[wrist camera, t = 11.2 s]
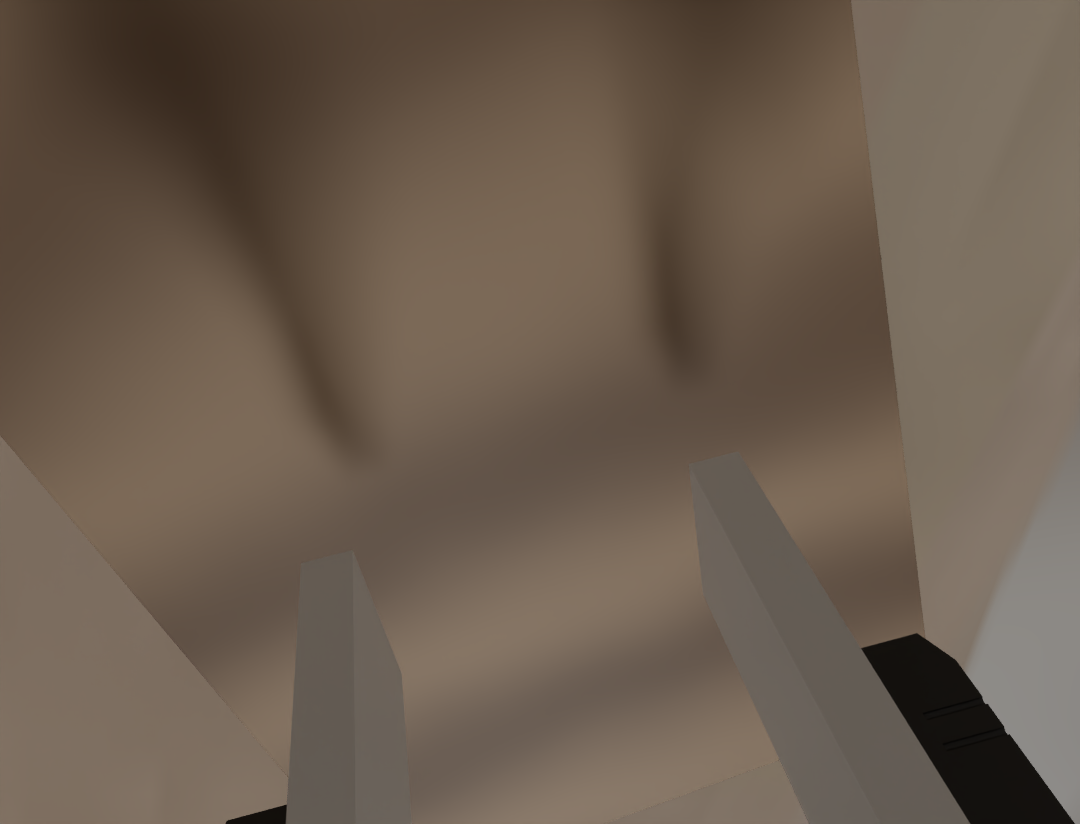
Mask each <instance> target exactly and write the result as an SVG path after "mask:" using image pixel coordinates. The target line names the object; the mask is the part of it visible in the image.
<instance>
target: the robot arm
mask: <svg viewBox="0 0 1080 824" xmlns="http://www.w3.org/2000/svg"><path fill="white" fill-rule="evenodd" d="M689 471H690V480H691V489H692V498H693V507H694V516H695V525H696V535H697V544H698V553H699V562H700V571H701V580H702V590H703V595H704V597H705V600H706V602H707V604H708V606H709V608H710V610H711V612H712V615H713V617H714V619H715V621H716V623H717V625H718V628H719V630H720V632H721V634H722V636H723V638H724V641H725V643H726V645H727V647H728V649H729V651H730V654H731V656H732V658H733V660H734V662H735V664H736V667H737V669H738V671H739V673H740V675H741V677H742V679H743V682H744V684H745V686H746V688H747V690H748V692H749V695H750V697H751V699H752V701H753V703H754V705H755V708H756V710H757V712H758V714H759V716H760V718H761V721H762V723H763V725H764V727H765V729H766V731H767V734H768V736H769V738H770V740H771V742H772V744H773V747H774V749H775V751H776V753H777V755H778V757H779V759H780V762H781V764H782V766H783V768H784V770H785V772H786V775H787V777H788V779H789V781H790V783H791V785H792V788H793V790H794V792H795V794H796V796H797V798H798V801H799V803H800V805H801V807H802V809H803V811H804V814H805V816H806V818H807V820H808V822H809V824H1075V823H1074V822H1073V821H1072V819H1071V818H1070V817H1069V815H1068V814H1067V812H1066V811H1065V810H1064V809H1063V807H1062V806H1061V804H1060V803H1059V801H1058V800H1057V799H1056V797H1055V796H1054V795H1053V793H1052V792H1051V790H1050V789H1049V788H1048V786H1047V785H1046V784H1045V782H1044V781H1043V779H1042V778H1041V777H1040V775H1039V774H1038V773H1037V771H1036V770H1035V768H1034V767H1033V766H1032V764H1031V763H1030V762H1029V760H1028V759H1027V757H1026V756H1025V755H1024V753H1023V752H1022V751H1021V749H1020V748H1019V747H1018V745H1017V744H1016V742H1015V741H1014V740H1013V738H1012V737H1011V736H1010V734H1009V735H1007V733H1006V732H1005V729H1004V726H1003V724H1002V723H1001V722H1000V720H999V719H998V718H997V716H996V715H995V713H994V712H993V711H992V709H991V708H990V707H989V705H988V704H985V703H984V701H983V699H982V696H981V694H980V693H979V691H978V690H977V689H976V687H975V686H974V685H973V683H972V682H971V680H970V679H969V678H968V676H967V675H966V674H965V672H964V671H963V669H962V668H961V667H960V665H959V664H958V663H957V661H956V660H955V659H953V658H952V657H950V656H949V655H948V654H946V653H945V652H943V651H942V650H941V649H939V648H938V647H936V646H935V645H933V644H932V643H931V642H929V641H928V640H926V639H925V638H923V637H922V636H921V635H919V634H918V633H915V634H912V635H908V636H904V637H901V638H897V639H893V640H889V641H886V642H882V643H878V644H875V645H871V646H867V647H863V648H860V646H859V645H858V643H857V641H856V640H855V638H854V637H853V635H852V633H851V632H850V630H849V628H848V627H847V625H846V624H845V622H844V620H843V619H842V617H841V616H840V614H839V612H838V611H837V609H836V608H835V606H834V604H833V603H832V601H831V600H830V598H829V596H828V595H827V593H826V592H825V590H824V588H823V587H822V585H821V584H820V582H819V580H818V579H817V577H816V576H815V574H814V572H813V571H812V569H811V568H810V566H809V564H808V563H807V561H806V559H805V558H804V556H803V555H802V553H801V551H800V550H799V548H798V547H797V545H796V543H795V542H794V540H793V539H792V537H791V535H790V534H789V532H788V531H787V529H786V527H785V526H784V524H783V523H782V521H781V519H780V518H779V516H778V515H777V513H776V511H775V510H774V508H773V507H772V505H771V503H770V502H769V500H768V498H767V497H766V495H765V494H764V492H763V490H762V489H761V487H760V486H759V484H758V482H757V481H756V479H755V478H754V476H753V474H752V473H751V471H750V470H749V468H748V466H747V465H746V463H745V462H744V460H743V458H742V457H741V455H740V454H739V452H734V453H730V454H726V455H722V456H718V457H714V458H711V459H707V460H703V461H699V462H695V463H691V464H689ZM226 824H412V821H411V806H410V791H409V775H408V760H407V745H406V730H405V715H404V700H403V685H402V673H401V670H400V668H399V665H398V663H397V660H396V658H395V655H394V653H393V650H392V648H391V645H390V643H389V640H388V638H387V635H386V633H385V630H384V628H383V625H382V623H381V620H380V617H379V615H378V612H377V610H376V607H375V605H374V602H373V600H372V597H371V595H370V592H369V590H368V587H367V585H366V582H365V580H364V577H363V575H362V572H361V570H360V567H359V565H358V562H357V560H356V557H355V555H354V552H353V550H351V551H347V552H343V553H339V554H335V555H332V556H328V557H324V558H320V559H316V560H312V561H308V562H304V563H301V575H300V592H299V609H298V626H297V643H296V660H295V676H294V693H293V710H292V727H291V744H290V761H289V778H288V795H287V805H284V806H280V807H276V808H273V809H269V810H265V811H261V812H258V813H254V814H250V815H246V816H243V817H239V818H235V819H232V820H228V821H227V822H226Z"/></svg>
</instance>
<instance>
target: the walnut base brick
mask: <svg viewBox="0 0 1080 824" xmlns="http://www.w3.org/2000/svg"><path fill="white" fill-rule="evenodd" d="M0 435H1V437H2V438H3V439H4V440H5V441H6V443H7V444H8V445H9V446H10V447H11V449H12V450H13V451H14V452H15V453H16V455H17V456H18V457H19V458H20V459H21V460H22V462H23V463H24V464H25V465H26V466H27V468H28V469H29V470H30V471H31V472H32V474H33V475H34V476H35V477H36V478H37V479H38V481H39V482H40V483H41V484H42V485H43V487H44V488H45V489H46V490H47V491H48V493H49V494H50V495H51V496H52V497H53V499H54V500H55V501H56V502H57V503H58V504H59V506H60V507H61V508H62V509H63V510H64V512H65V513H66V514H67V515H68V516H69V518H70V519H71V520H72V521H73V522H74V524H75V525H76V526H77V527H78V528H79V529H80V531H81V532H82V533H83V534H84V535H85V537H86V538H87V539H88V540H89V541H90V543H91V544H92V545H93V546H94V547H95V548H96V550H97V551H98V552H99V553H100V554H101V556H102V557H103V558H104V559H105V560H106V562H107V563H108V564H109V565H110V566H111V568H112V569H113V570H114V571H115V572H116V573H117V575H118V576H119V577H120V578H121V579H122V581H123V582H124V583H125V584H126V585H127V587H128V588H129V589H130V590H131V591H132V593H133V594H134V595H135V596H136V597H137V598H138V600H139V601H140V602H141V603H142V604H143V606H144V607H145V608H146V609H147V610H148V612H149V613H150V614H151V615H152V616H153V617H154V619H155V620H156V621H157V622H158V623H159V625H160V626H161V627H162V628H163V629H164V631H165V632H166V633H167V634H168V635H169V637H170V638H171V639H172V640H173V641H174V642H175V644H176V645H177V646H178V647H179V648H180V650H181V651H182V652H183V653H184V654H185V656H186V657H187V658H188V659H189V660H190V662H191V663H192V664H193V665H194V666H195V667H196V669H197V670H198V671H199V672H200V673H201V675H202V676H203V677H204V678H205V679H206V681H207V682H208V683H209V684H210V685H211V686H212V688H213V689H214V690H215V691H216V692H217V694H218V695H219V696H220V697H221V698H222V700H223V701H224V702H225V703H226V704H227V706H228V707H229V708H230V709H231V710H232V711H233V713H234V714H235V715H236V716H237V717H238V719H239V720H240V721H241V722H242V723H243V725H244V726H245V727H246V728H247V729H248V731H249V732H250V733H251V734H252V735H253V736H254V738H255V739H256V740H257V741H258V742H259V744H260V745H261V746H262V747H263V748H264V750H265V751H266V752H267V753H268V754H269V755H270V757H271V758H272V759H273V760H274V761H275V763H276V764H277V765H278V766H279V767H280V769H281V770H282V771H283V772H284V773H285V775H286V776H287V777H288V778H289V761H290V744H291V727H292V710H293V693H294V676H295V660H296V643H297V626H298V609H299V592H300V575H301V563H304V562H308V561H312V560H316V559H320V558H324V557H328V556H332V555H335V554H339V553H343V552H347V551H351V550H353V552H354V555H355V557H356V560H357V562H358V565H359V567H360V570H361V572H362V575H363V577H364V580H365V582H366V585H367V587H368V590H369V592H370V595H371V597H372V600H373V602H374V605H375V607H376V610H377V612H378V615H379V617H380V620H381V623H382V625H383V628H384V630H385V633H386V635H387V638H388V640H389V643H390V645H391V648H392V650H393V653H394V655H395V658H396V660H397V663H398V665H399V668H400V670H401V673H402V685H403V700H404V715H405V730H406V745H407V760H408V775H409V791H410V806H411V821H412V824H606V823H608V822H611V821H614V820H617V819H619V818H622V817H625V816H628V815H630V814H633V813H636V812H639V811H641V810H644V809H647V808H650V807H652V806H655V805H658V804H661V803H663V802H666V801H669V800H672V799H674V798H677V797H680V796H683V795H685V794H688V793H691V792H694V791H696V790H699V789H702V788H705V787H707V786H710V785H713V784H715V783H718V782H721V781H724V780H726V779H729V778H732V777H735V776H737V775H740V774H743V773H746V772H748V771H751V770H754V769H757V768H759V767H762V766H765V765H768V764H770V763H773V762H776V761H779V760H780V759H779V757H778V755H777V753H776V751H775V749H774V747H773V744H772V742H771V740H770V738H769V736H768V734H767V731H766V729H765V727H764V725H763V723H762V721H761V718H760V716H759V714H758V712H757V710H756V708H755V705H754V703H753V701H752V699H751V697H750V695H749V692H748V690H747V688H746V686H745V684H744V682H743V679H742V677H741V675H740V673H739V671H738V669H737V667H736V664H735V662H734V660H733V658H732V656H731V654H730V651H729V649H728V647H727V645H726V643H725V641H724V638H723V636H722V634H721V632H720V630H719V628H718V625H717V623H716V621H715V619H714V617H713V615H712V612H711V610H710V608H709V606H708V604H707V602H706V600H705V597H704V595H703V590H702V580H701V571H700V562H699V553H698V544H697V535H696V525H695V516H694V507H693V498H692V489H691V480H690V471H689V464H691V463H695V462H699V461H703V460H707V459H711V458H714V457H718V456H722V455H726V454H730V453H734V452H739V454H740V455H741V457H742V458H743V460H744V462H745V463H746V465H747V466H748V468H749V470H750V471H751V473H752V474H753V476H754V478H755V479H756V481H757V482H758V484H759V486H760V487H761V489H762V490H763V492H764V494H765V495H766V497H767V498H768V500H769V502H770V503H771V505H772V507H773V508H774V510H775V511H776V513H777V515H778V516H779V518H780V519H781V521H782V523H783V524H784V526H785V527H786V529H787V531H788V532H789V534H790V535H791V537H792V539H793V540H794V542H795V543H796V545H797V547H798V548H799V550H800V551H801V553H802V555H803V556H804V558H805V559H806V561H807V563H808V564H809V566H810V568H811V569H812V571H813V572H814V574H815V576H816V577H817V579H818V580H819V582H820V584H821V585H822V587H823V588H824V590H825V592H826V593H827V595H828V596H829V598H830V600H831V601H832V603H833V604H834V606H835V608H836V609H837V611H838V612H839V614H840V616H841V617H842V619H843V620H844V622H845V624H846V625H847V627H848V628H849V630H850V632H851V633H852V635H853V637H854V638H855V640H856V641H857V643H858V645H859V646H860V648H863V647H867V646H871V645H875V644H878V643H882V642H886V641H889V640H893V639H897V638H901V637H904V636H908V635H912V634H915V633H918V634H919V635H921V636H922V637H923V638H925V631H924V623H923V614H922V605H921V597H920V588H919V580H918V571H917V563H916V554H915V546H914V537H913V529H912V520H911V512H910V503H909V494H908V486H907V477H906V469H905V460H904V452H903V443H902V435H901V426H900V418H899V409H898V400H897V392H896V383H895V375H894V366H893V358H892V349H891V341H890V332H889V324H888V315H887V306H886V298H885V289H884V281H883V272H882V264H881V255H880V247H879V238H878V230H877V221H876V212H875V204H874V195H873V187H872V178H871V170H870V161H869V153H868V144H867V136H866V127H865V118H864V110H863V101H862V93H861V84H860V76H859V67H858V59H857V50H856V42H855V33H854V24H853V16H852V7H851V0H0Z"/></svg>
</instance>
